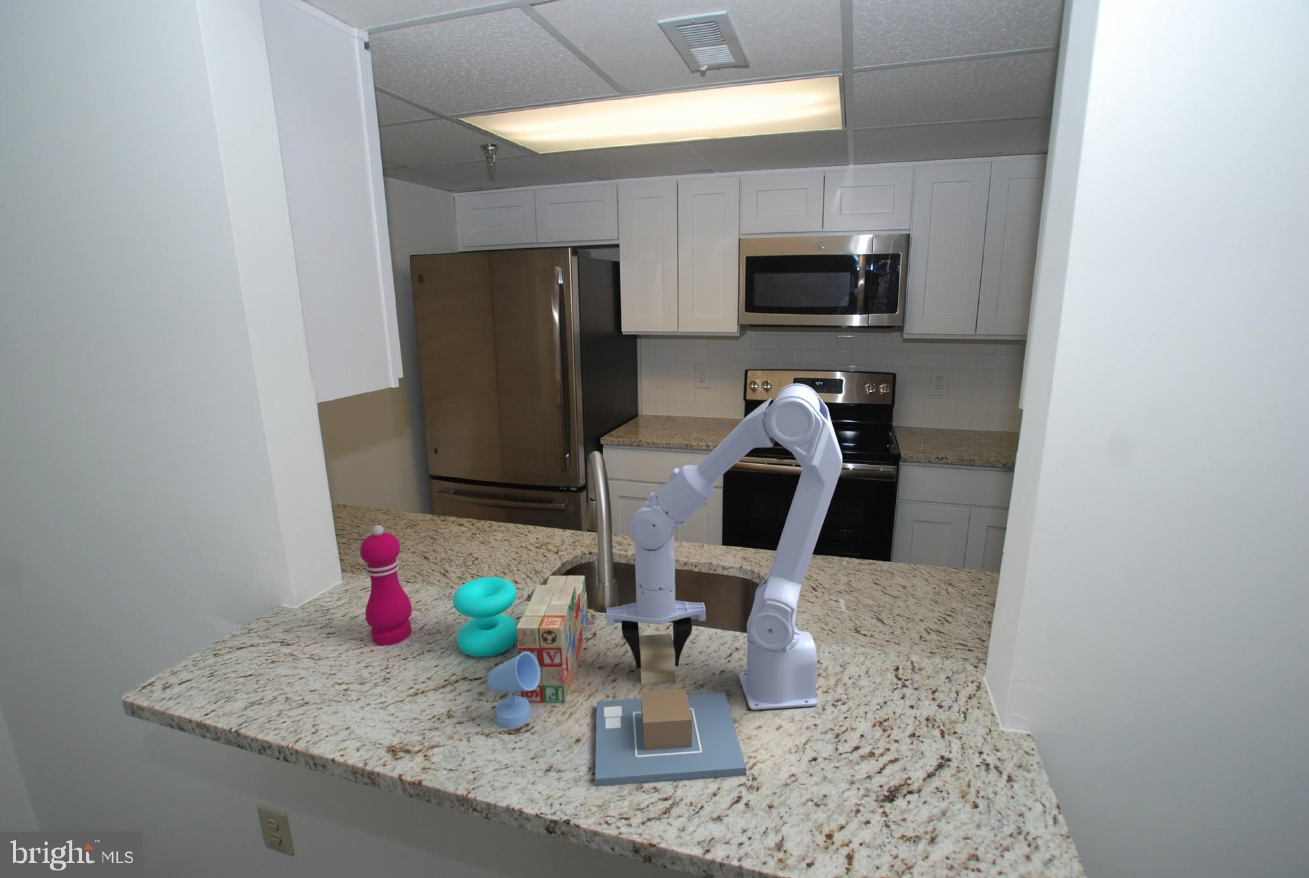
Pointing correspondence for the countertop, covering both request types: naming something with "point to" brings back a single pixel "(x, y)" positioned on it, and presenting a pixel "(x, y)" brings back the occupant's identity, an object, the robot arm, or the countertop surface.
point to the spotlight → (514, 688)
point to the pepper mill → (385, 589)
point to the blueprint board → (669, 766)
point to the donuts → (486, 616)
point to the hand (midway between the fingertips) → (657, 663)
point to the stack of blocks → (554, 635)
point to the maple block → (657, 658)
